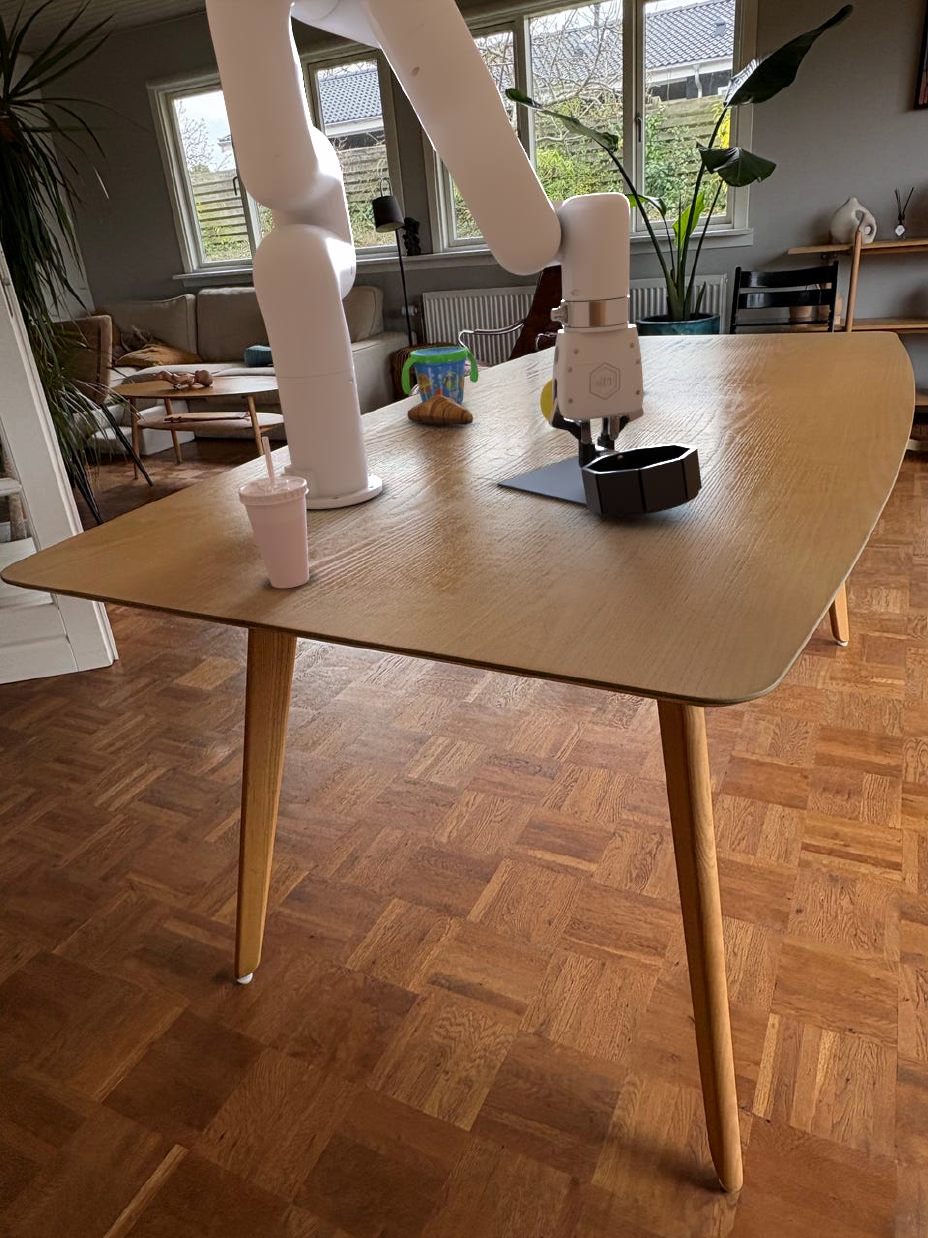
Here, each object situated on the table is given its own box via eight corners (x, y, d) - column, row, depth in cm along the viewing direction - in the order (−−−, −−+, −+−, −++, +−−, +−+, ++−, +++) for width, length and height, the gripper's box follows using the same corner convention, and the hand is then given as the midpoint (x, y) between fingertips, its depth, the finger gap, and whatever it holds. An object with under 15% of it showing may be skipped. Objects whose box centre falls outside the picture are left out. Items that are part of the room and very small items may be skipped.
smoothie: (326, 565, 82) (303, 427, 76) (318, 590, 76) (293, 444, 70) (263, 571, 82) (236, 433, 76) (251, 596, 76) (219, 450, 70)
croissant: (483, 421, 137) (481, 391, 135) (460, 430, 132) (457, 399, 130) (422, 417, 145) (419, 388, 143) (397, 425, 140) (394, 396, 138)
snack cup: (467, 396, 159) (463, 342, 155) (493, 403, 151) (489, 346, 146) (394, 409, 153) (388, 353, 149) (417, 417, 145) (411, 358, 140)
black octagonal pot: (718, 495, 84) (713, 449, 82) (614, 523, 82) (607, 477, 81) (636, 470, 104) (630, 432, 102) (551, 493, 103) (544, 455, 101)
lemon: (575, 422, 131) (574, 371, 128) (576, 430, 126) (575, 377, 123) (541, 424, 132) (539, 374, 129) (541, 432, 127) (539, 380, 124)
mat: (594, 508, 92) (594, 505, 92) (497, 485, 103) (497, 483, 103) (687, 470, 102) (687, 468, 102) (589, 453, 113) (589, 451, 113)
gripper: (539, 324, 88) (545, 488, 96) (673, 310, 90) (668, 471, 98) (521, 319, 95) (527, 472, 103) (646, 306, 97) (643, 456, 105)
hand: (596, 470), depth 100 cm, fingers closed on black octagonal pot, 1 cm apart
